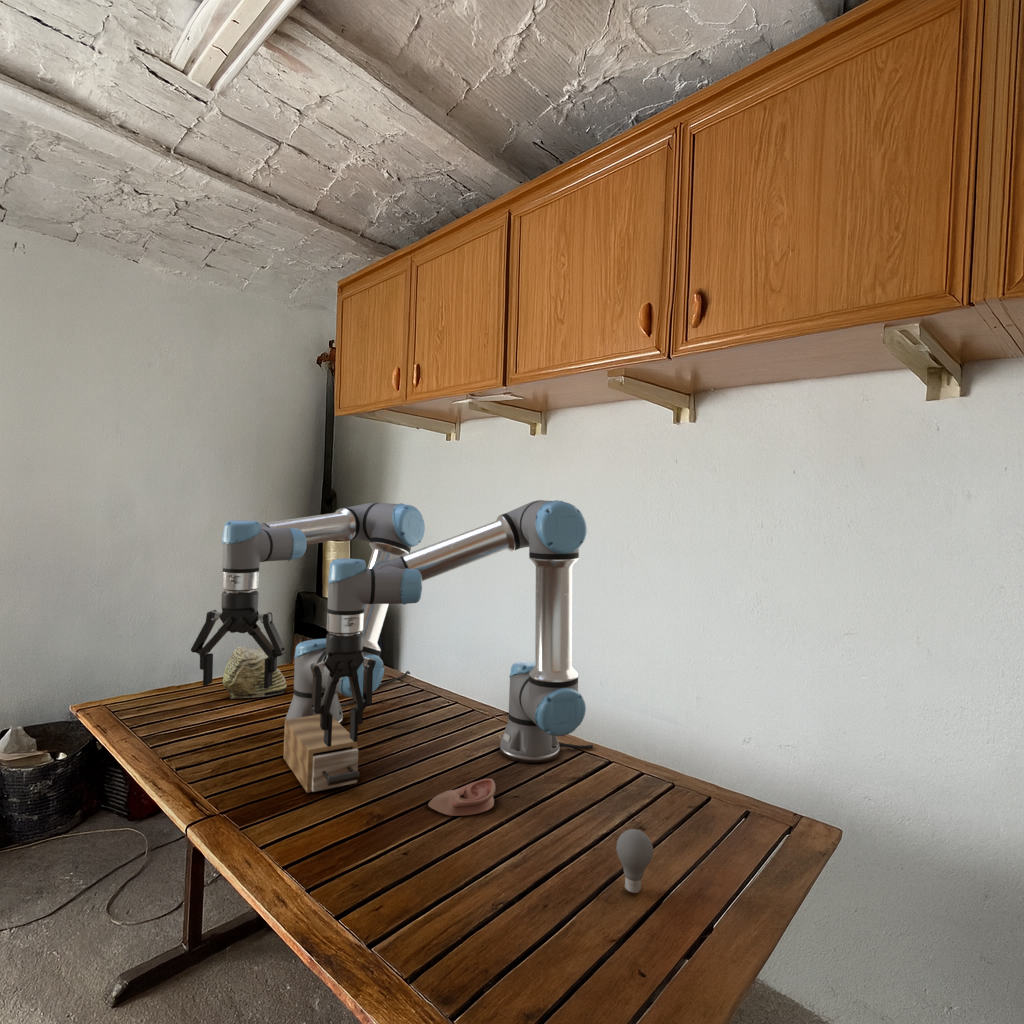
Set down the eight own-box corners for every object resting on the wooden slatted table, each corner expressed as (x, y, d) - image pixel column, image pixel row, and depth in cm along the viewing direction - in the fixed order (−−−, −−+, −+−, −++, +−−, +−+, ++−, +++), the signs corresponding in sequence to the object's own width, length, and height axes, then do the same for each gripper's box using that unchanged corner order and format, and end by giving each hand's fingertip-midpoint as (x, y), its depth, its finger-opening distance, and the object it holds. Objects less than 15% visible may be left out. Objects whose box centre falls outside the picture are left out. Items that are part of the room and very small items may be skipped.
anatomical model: (423, 792, 129) (441, 769, 140) (422, 812, 129) (440, 787, 140) (487, 801, 126) (499, 777, 137) (486, 821, 126) (498, 795, 137)
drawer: (366, 793, 134) (367, 759, 134) (320, 803, 129) (322, 768, 129) (330, 751, 155) (331, 722, 155) (290, 759, 149) (291, 728, 149)
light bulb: (610, 879, 108) (613, 822, 108) (644, 879, 109) (647, 822, 109) (619, 902, 102) (622, 840, 102) (655, 901, 103) (658, 840, 103)
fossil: (218, 695, 195) (220, 647, 195) (278, 685, 208) (279, 640, 207) (228, 703, 189) (230, 653, 188) (289, 692, 201) (290, 645, 201)
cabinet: (355, 782, 141) (357, 741, 141) (306, 793, 135) (308, 749, 135) (328, 750, 158) (329, 713, 158) (283, 758, 152) (284, 719, 152)
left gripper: (175, 590, 137) (173, 688, 137) (289, 595, 136) (287, 693, 137) (193, 585, 144) (191, 677, 145) (302, 590, 144) (299, 682, 144)
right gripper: (306, 639, 125) (302, 756, 126) (391, 632, 135) (387, 740, 136) (296, 632, 132) (292, 743, 132) (378, 625, 142) (374, 729, 142)
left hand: (237, 685), depth 141 cm, fingers open, 13 cm apart
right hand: (340, 741), depth 134 cm, fingers open, 5 cm apart
